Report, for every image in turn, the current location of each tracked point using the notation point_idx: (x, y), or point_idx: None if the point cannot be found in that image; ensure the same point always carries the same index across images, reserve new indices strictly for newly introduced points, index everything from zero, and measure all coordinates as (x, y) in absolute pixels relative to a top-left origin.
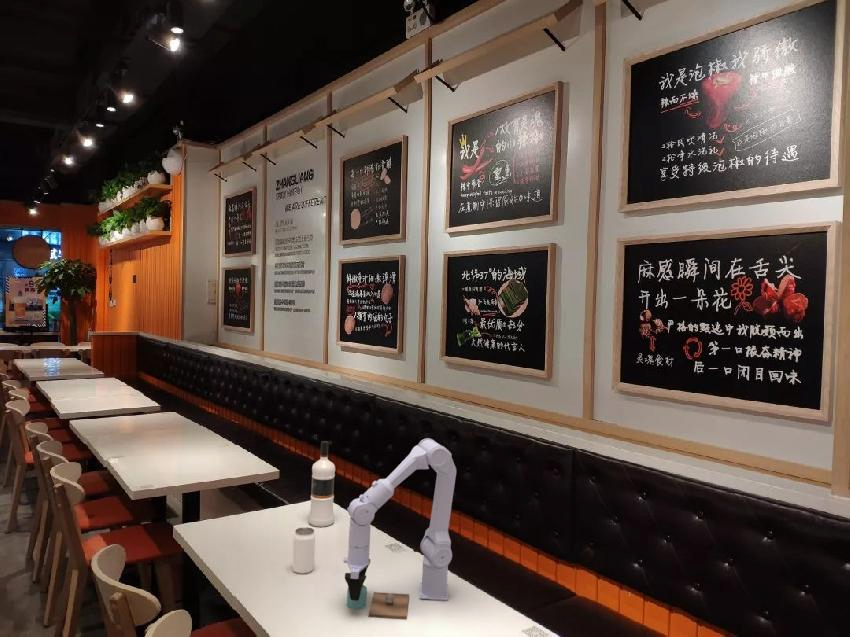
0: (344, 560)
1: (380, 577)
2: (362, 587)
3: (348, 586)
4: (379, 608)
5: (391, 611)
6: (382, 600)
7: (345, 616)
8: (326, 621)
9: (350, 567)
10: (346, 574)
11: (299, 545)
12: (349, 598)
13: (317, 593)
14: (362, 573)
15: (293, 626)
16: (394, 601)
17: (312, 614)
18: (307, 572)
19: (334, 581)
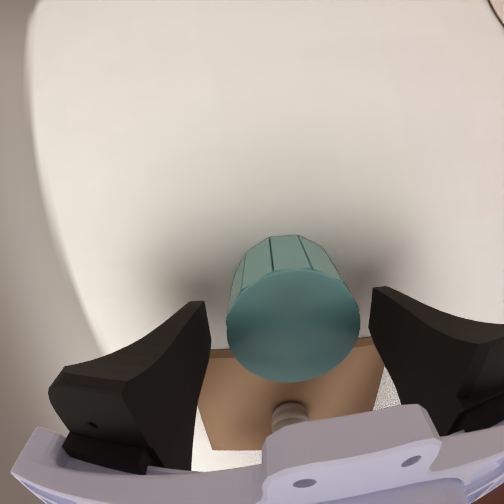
0: (266, 484)
1: (500, 317)
2: (314, 358)
3: (129, 346)
4: (242, 388)
5: (231, 420)
6: (314, 387)
7: (158, 256)
8: (94, 180)
9: (66, 495)
10: (89, 400)
11: None
12: (240, 276)
13: (366, 53)
14: (403, 380)
15: (44, 67)
16: (310, 419)
17: (137, 89)
18: (501, 20)
19: (484, 131)
